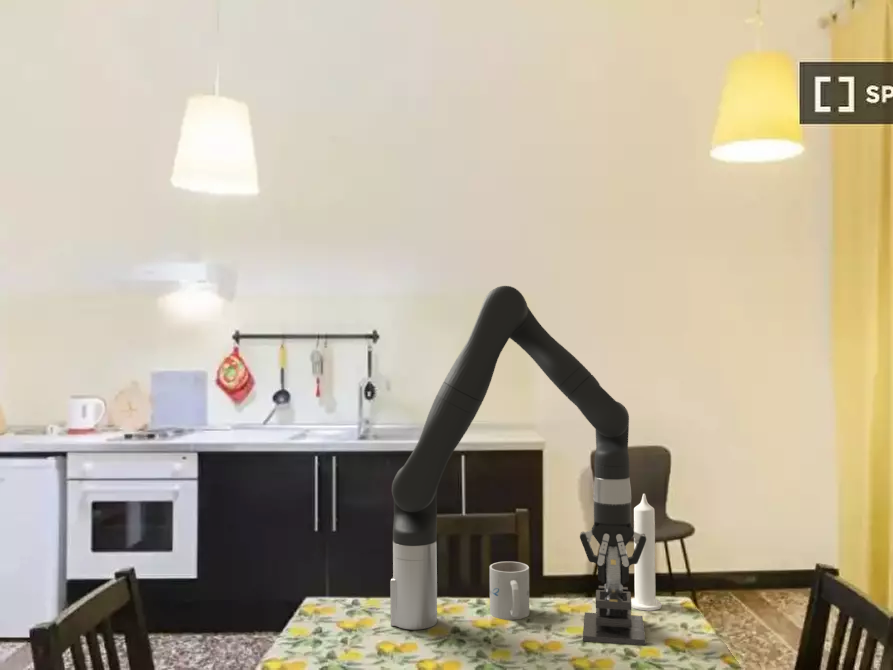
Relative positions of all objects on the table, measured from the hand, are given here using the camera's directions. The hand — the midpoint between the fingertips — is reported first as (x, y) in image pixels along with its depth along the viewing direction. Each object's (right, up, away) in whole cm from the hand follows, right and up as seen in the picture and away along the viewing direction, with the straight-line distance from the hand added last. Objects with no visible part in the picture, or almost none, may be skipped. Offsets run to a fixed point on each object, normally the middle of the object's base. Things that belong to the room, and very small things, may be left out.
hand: (613, 582), depth 162 cm
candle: (+10, -10, +15) cm, 21 cm away
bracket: (0, -10, 0) cm, 10 cm away
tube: (0, -6, 0) cm, 6 cm away
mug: (-21, -10, +9) cm, 25 cm away
